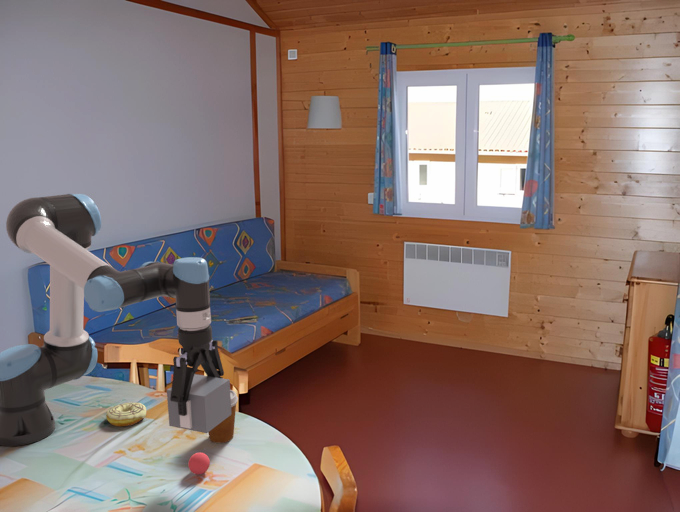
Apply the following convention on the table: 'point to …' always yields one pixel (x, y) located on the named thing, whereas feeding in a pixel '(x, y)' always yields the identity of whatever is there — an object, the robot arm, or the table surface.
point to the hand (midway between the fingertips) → (200, 417)
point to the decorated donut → (126, 414)
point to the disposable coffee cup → (225, 424)
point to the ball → (199, 463)
